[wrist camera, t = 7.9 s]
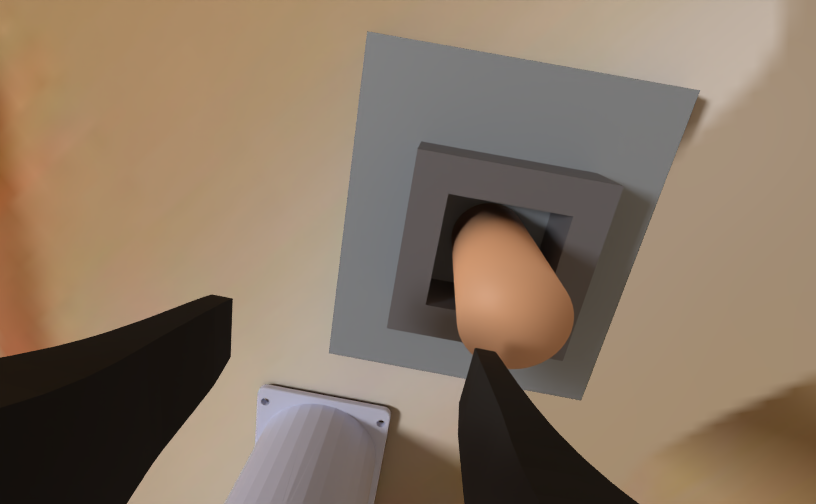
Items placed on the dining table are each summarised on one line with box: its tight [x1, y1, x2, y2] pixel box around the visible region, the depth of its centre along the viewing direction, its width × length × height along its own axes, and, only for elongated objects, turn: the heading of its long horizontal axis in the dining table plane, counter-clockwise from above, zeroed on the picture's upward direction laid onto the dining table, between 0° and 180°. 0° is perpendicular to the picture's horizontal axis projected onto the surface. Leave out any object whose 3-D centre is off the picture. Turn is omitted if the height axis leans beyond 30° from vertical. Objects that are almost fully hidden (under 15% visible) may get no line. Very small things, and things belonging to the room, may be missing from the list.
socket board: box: [329, 31, 700, 400], centre depth 20 cm, size 16×14×4 cm
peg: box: [451, 203, 574, 369], centre depth 17 cm, size 4×4×8 cm
